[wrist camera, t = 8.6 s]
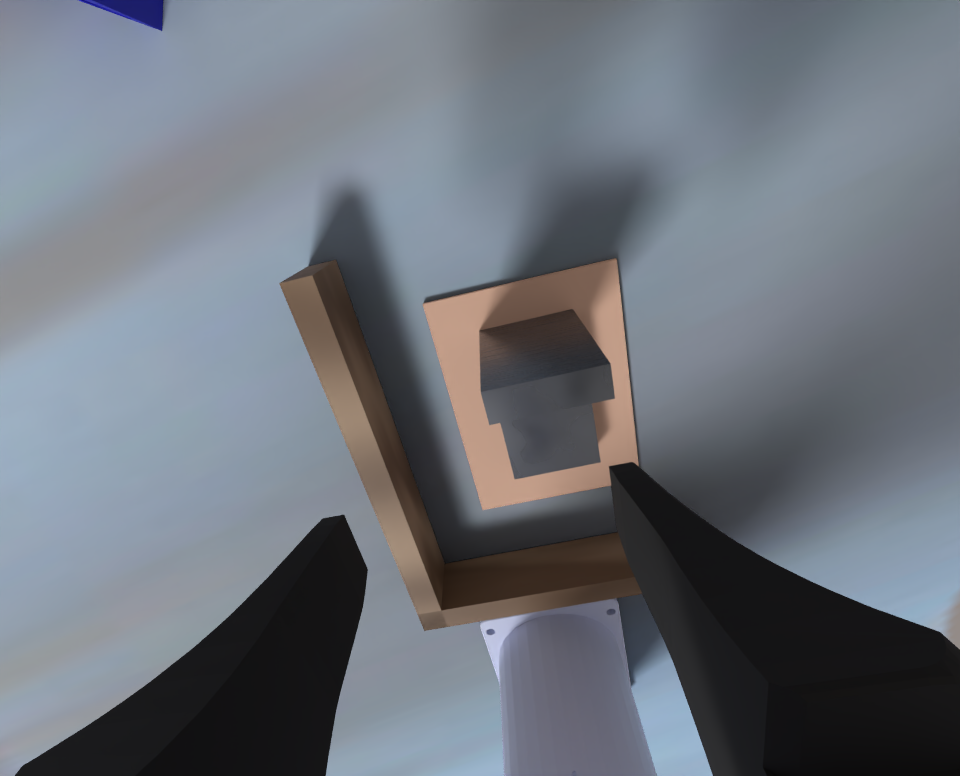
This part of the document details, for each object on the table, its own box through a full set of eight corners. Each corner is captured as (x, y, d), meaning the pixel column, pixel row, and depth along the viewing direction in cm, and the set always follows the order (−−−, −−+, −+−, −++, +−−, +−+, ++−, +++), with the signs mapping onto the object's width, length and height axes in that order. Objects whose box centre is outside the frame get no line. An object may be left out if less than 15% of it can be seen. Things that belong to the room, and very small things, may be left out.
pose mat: (638, 477, 23) (640, 479, 23) (482, 507, 24) (482, 510, 24) (615, 258, 19) (616, 259, 19) (423, 303, 19) (422, 304, 19)
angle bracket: (479, 330, 20) (480, 392, 14) (572, 308, 19) (610, 363, 14) (512, 464, 23) (524, 558, 17) (594, 448, 22) (632, 538, 17)
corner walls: (700, 534, 25) (728, 579, 22) (429, 583, 26) (424, 630, 24) (685, 172, 17) (724, 174, 15) (307, 266, 19) (279, 283, 16)
